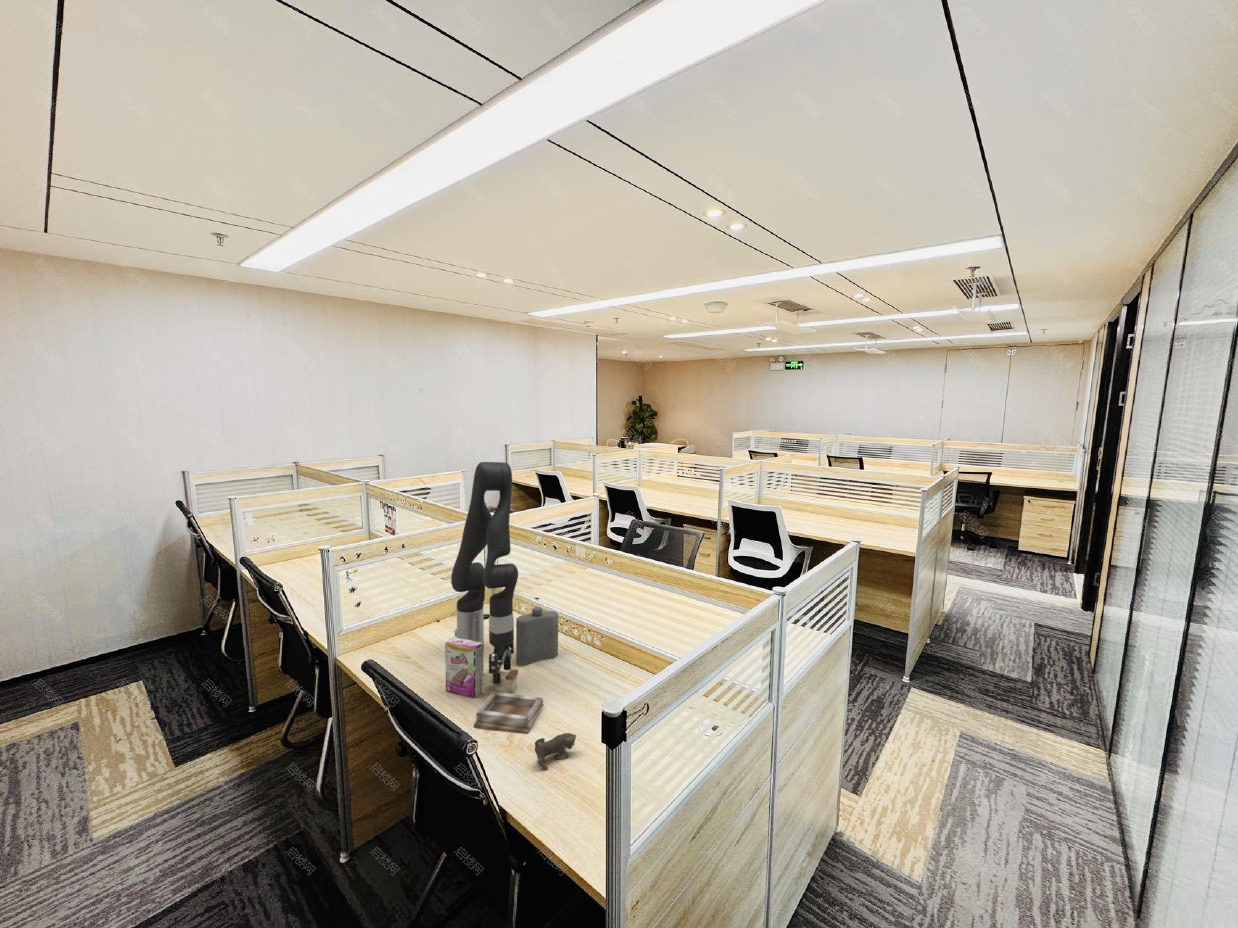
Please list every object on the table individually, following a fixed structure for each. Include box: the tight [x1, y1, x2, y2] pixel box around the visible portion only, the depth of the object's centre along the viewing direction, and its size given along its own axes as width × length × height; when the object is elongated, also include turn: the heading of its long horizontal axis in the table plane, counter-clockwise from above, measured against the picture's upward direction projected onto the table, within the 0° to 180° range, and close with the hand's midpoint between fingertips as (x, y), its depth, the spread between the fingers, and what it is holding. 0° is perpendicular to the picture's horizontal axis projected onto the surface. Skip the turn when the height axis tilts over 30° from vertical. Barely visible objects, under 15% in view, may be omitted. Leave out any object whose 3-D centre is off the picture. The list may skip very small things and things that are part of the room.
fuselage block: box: [480, 668, 519, 695], centre depth 160 cm, size 10×4×7 cm, turn 80°
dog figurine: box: [534, 732, 577, 771], centre depth 130 cm, size 12×6×7 cm, turn 122°
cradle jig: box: [473, 692, 544, 735], centre depth 148 cm, size 16×14×4 cm
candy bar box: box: [444, 636, 485, 699], centre depth 159 cm, size 11×5×16 cm, turn 71°
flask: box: [515, 606, 559, 667], centre depth 178 cm, size 15×6×20 cm, turn 117°
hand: (502, 676), depth 159 cm, fingers open, 8 cm apart
